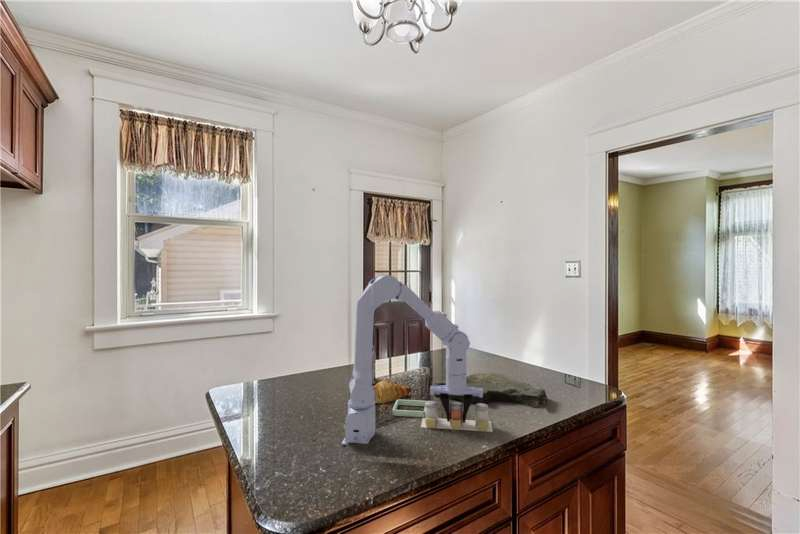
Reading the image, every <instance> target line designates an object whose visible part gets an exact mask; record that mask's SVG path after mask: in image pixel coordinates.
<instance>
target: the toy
mask: <svg viewBox="0 0 800 534" xmlns="http://www.w3.org/2000/svg"><path fill="white" fill-rule="evenodd" d="M376 362H377V361H376V353H375V346H374V345H372V368H371V370H372V385H376V384H377V383H376V381H375V364H376Z"/></svg>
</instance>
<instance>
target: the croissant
mask: <svg viewBox="0 0 800 534" xmlns="http://www.w3.org/2000/svg"><path fill="white" fill-rule="evenodd" d="M372 386H373V389H374V391H375V399H374V400H375V404H386V403H389V402H393V401H396V400H397V399H402V398H404V397H407V396H408V395H409V394H410V393H411V391H412V388H411V387H410V386H405V385H401V384H400V385H399V384H397V383H393V382H391V381H389V380H384V379H383V380H381V381H379V382H377V383H375V384H374V385H372Z"/></svg>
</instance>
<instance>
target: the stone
mask: <svg viewBox="0 0 800 534" xmlns="http://www.w3.org/2000/svg"><path fill="white" fill-rule="evenodd" d="M442 385H446V379H443V380H441V381H439V382H437V383H435V386H442ZM466 386H469V387H475V388H482V389H483V397H479V396H472V398H473V400H472V403H471V405H476V404H478V403H483V404H486V405H490V404H491V403H508V404H509V403H512V404H518V405H522V406H525V407H530V408H531V407H532V408H533V409H539V408H540V407H541V406H542V407H543V408H547V404H548V396H547V393H546V390H545V388H543V387H540V386H536V385H534V384H530V383H526V382H522V381H519V380H516V379H513V378H511V377H509V376H507V375H505V374H501V373H493V372H488V373H487V372H486V373H479V372H478V373H472V374H469V376H467V375H466ZM433 396H437V397H439V398H440V394H434V395H433ZM449 400H454V401H457V402H460V401H461V402H463V396H461V395H449Z"/></svg>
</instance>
